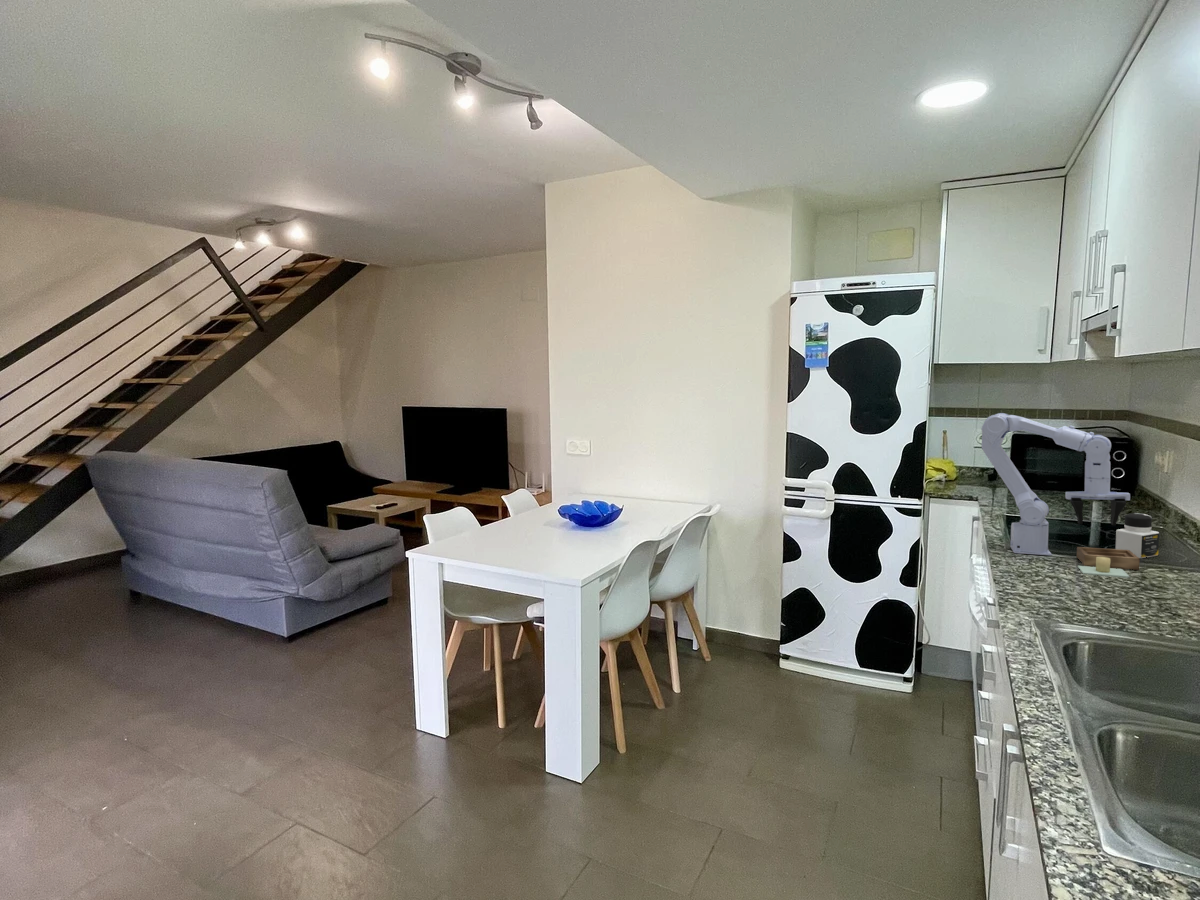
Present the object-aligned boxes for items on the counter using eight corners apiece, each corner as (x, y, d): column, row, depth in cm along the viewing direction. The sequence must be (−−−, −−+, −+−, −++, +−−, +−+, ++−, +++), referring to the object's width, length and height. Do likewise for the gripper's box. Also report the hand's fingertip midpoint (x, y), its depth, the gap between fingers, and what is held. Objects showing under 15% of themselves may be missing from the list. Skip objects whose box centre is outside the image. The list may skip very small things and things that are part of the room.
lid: (1083, 576, 169) (1083, 560, 168) (1077, 568, 175) (1078, 553, 174) (1129, 580, 164) (1130, 563, 164) (1121, 572, 170) (1122, 556, 170)
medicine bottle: (1141, 558, 179) (1143, 518, 178) (1114, 552, 186) (1116, 513, 185) (1158, 555, 181) (1160, 515, 180) (1131, 549, 188) (1133, 511, 187)
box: (1084, 566, 175) (1084, 555, 175) (1076, 557, 183) (1077, 546, 183) (1139, 570, 170) (1139, 558, 169) (1128, 561, 178) (1129, 549, 177)
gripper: (1069, 479, 178) (1068, 526, 179) (1134, 480, 172) (1133, 528, 173) (1064, 475, 184) (1063, 520, 186) (1126, 476, 178) (1125, 522, 179)
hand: (1096, 524), depth 180 cm, fingers open, 7 cm apart
